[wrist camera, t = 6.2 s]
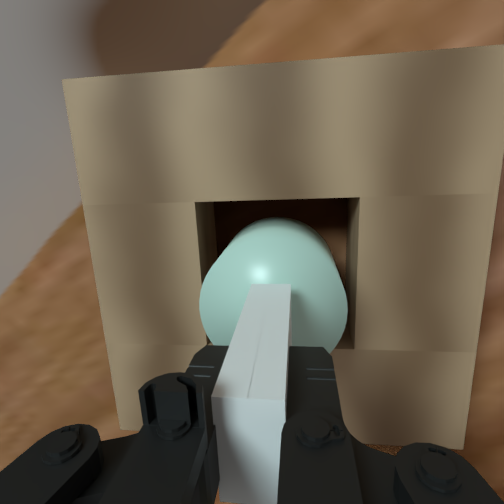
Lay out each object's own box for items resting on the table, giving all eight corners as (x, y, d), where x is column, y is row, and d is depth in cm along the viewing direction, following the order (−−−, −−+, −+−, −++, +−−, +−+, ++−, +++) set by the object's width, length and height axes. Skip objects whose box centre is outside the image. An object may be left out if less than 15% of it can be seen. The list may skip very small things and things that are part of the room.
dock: (146, 388, 26) (120, 429, 22) (105, 93, 21) (61, 79, 17) (435, 401, 23) (463, 449, 19) (471, 67, 18) (518, 43, 14)
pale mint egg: (226, 321, 20) (205, 373, 15) (219, 218, 19) (193, 239, 14) (333, 323, 19) (345, 378, 15) (335, 215, 18) (349, 237, 13)
